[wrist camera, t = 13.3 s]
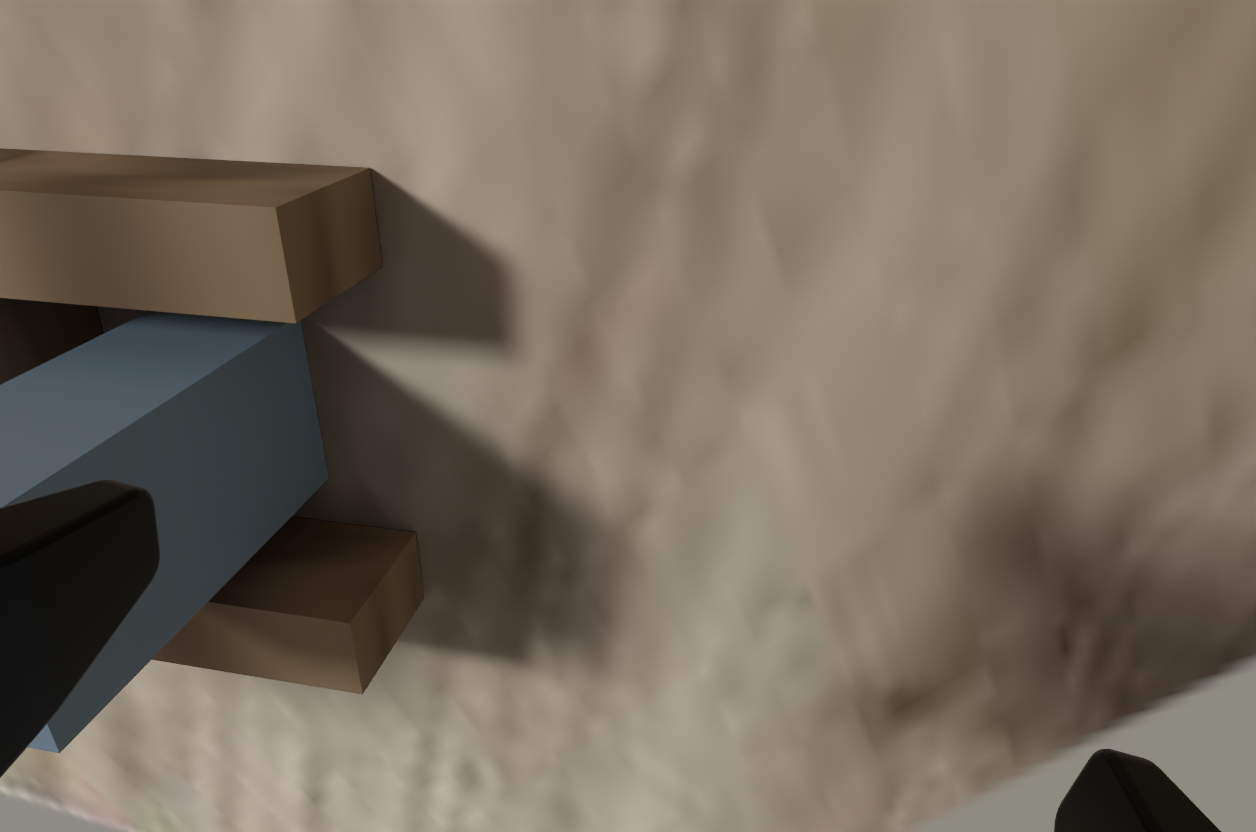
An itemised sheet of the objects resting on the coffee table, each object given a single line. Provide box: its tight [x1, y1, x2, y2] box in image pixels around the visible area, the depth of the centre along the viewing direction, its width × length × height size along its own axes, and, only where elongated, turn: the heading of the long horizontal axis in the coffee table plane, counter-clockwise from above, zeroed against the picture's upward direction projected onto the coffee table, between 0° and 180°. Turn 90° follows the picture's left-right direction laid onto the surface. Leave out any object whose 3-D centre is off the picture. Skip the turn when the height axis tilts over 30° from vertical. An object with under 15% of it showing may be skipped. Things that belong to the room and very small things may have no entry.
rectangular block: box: [0, 311, 329, 753], centre depth 19 cm, size 4×5×10 cm
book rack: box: [0, 149, 424, 694], centre depth 22 cm, size 10×13×4 cm
